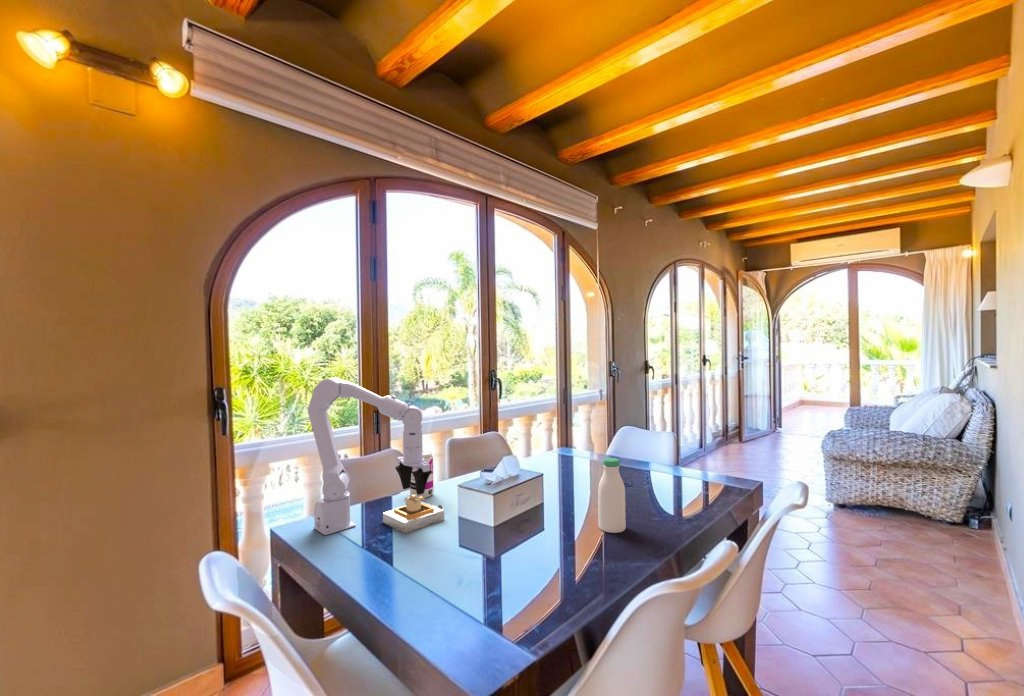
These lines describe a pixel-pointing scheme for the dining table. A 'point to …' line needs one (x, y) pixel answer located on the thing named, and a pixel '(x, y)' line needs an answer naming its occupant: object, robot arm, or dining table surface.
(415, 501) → the spout can
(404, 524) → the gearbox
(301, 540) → the dining table surface
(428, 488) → the supplement can
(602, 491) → the milk bottle
